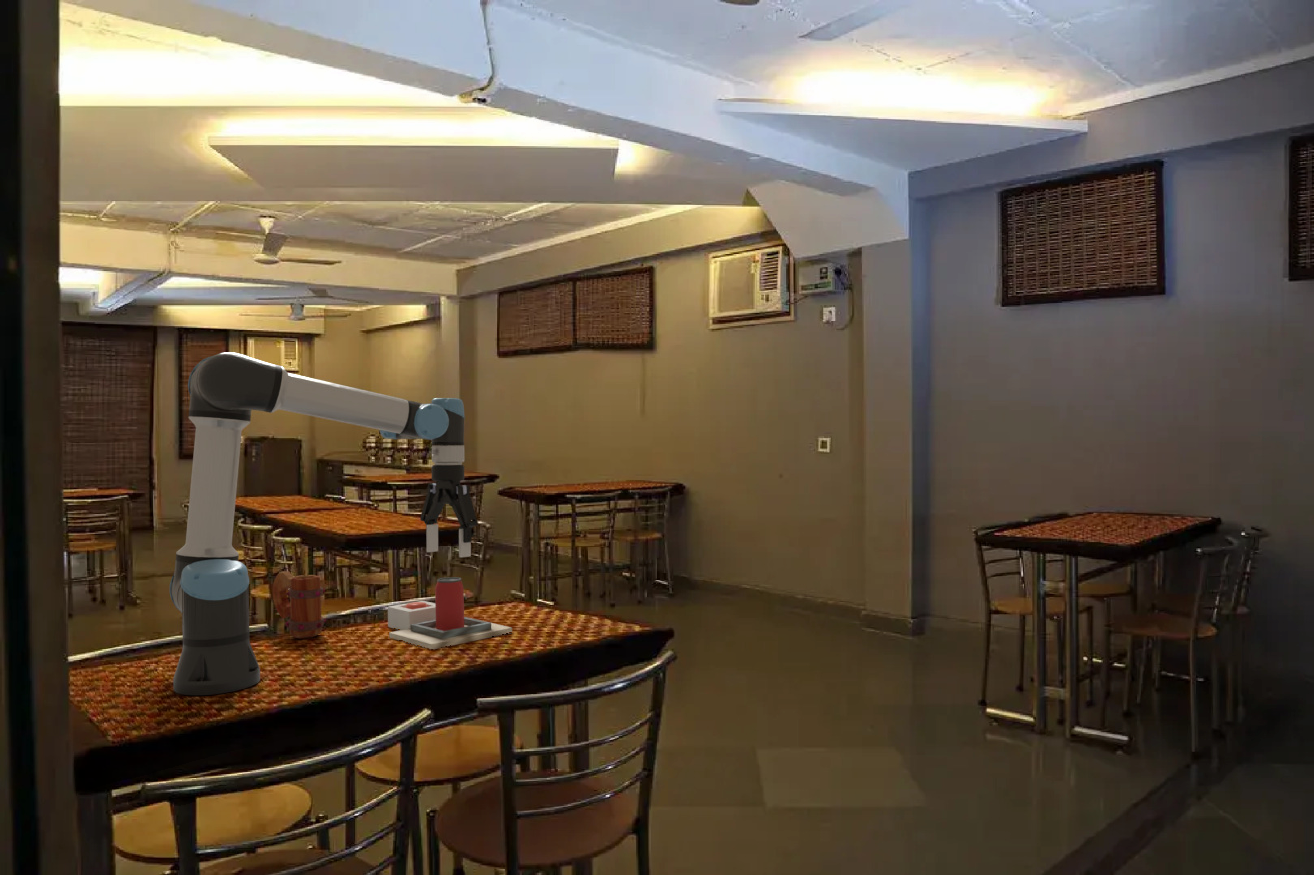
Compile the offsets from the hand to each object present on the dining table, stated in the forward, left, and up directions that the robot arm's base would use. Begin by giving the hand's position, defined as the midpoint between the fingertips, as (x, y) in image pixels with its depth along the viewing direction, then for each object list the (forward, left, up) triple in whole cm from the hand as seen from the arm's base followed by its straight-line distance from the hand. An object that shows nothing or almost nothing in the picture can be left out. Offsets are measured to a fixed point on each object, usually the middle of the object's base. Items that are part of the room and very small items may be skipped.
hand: (448, 554), depth 220 cm
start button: (0, +15, -17) cm, 23 cm away
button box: (0, +15, -19) cm, 24 cm away
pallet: (0, 0, -19) cm, 19 cm away
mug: (-24, +28, -19) cm, 41 cm away
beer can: (0, 0, -18) cm, 18 cm away
